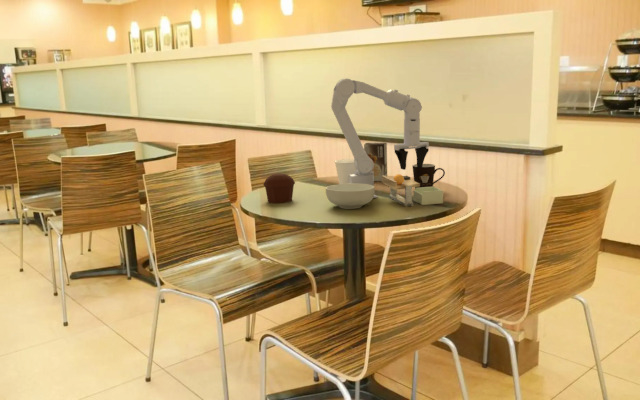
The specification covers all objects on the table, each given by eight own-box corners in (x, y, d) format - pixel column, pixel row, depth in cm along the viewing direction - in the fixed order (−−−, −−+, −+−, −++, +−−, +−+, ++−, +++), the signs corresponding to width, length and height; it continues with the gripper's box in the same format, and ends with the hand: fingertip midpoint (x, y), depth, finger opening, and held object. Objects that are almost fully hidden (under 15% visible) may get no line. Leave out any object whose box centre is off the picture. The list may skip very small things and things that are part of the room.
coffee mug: (409, 192, 224) (409, 166, 222) (416, 188, 231) (416, 163, 229) (438, 194, 218) (439, 167, 216) (445, 190, 226) (445, 164, 224)
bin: (422, 204, 201) (422, 192, 200) (413, 200, 209) (413, 187, 208) (443, 203, 203) (443, 190, 202) (433, 198, 211) (433, 186, 210)
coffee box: (388, 179, 255) (387, 142, 252) (385, 181, 249) (384, 144, 246) (367, 178, 258) (366, 142, 254) (364, 181, 252) (363, 144, 248)
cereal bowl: (384, 205, 202) (384, 185, 201) (352, 214, 191) (351, 193, 190) (348, 199, 214) (348, 180, 213) (316, 207, 203) (315, 187, 202)
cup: (359, 185, 243) (359, 158, 241) (359, 189, 233) (358, 162, 231) (336, 185, 244) (335, 159, 242) (334, 189, 234) (333, 162, 232)
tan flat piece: (395, 189, 199) (394, 181, 199) (382, 183, 213) (381, 175, 212) (419, 186, 201) (419, 178, 200) (406, 179, 214) (405, 172, 214)
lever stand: (404, 206, 200) (404, 186, 198) (389, 197, 216) (389, 178, 215) (413, 205, 200) (413, 185, 199) (397, 196, 217) (396, 178, 215)
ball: (396, 186, 201) (394, 176, 200) (392, 184, 204) (391, 174, 203) (406, 184, 201) (404, 174, 200) (402, 182, 205) (401, 172, 204)
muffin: (267, 205, 210) (265, 177, 208) (261, 199, 220) (260, 173, 218) (299, 202, 213) (298, 175, 211) (292, 196, 223) (291, 170, 221)
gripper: (402, 133, 207) (402, 171, 209) (434, 130, 214) (433, 167, 216) (390, 132, 213) (390, 169, 215) (422, 129, 220) (421, 165, 222)
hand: (411, 168), depth 216 cm, fingers open, 7 cm apart
